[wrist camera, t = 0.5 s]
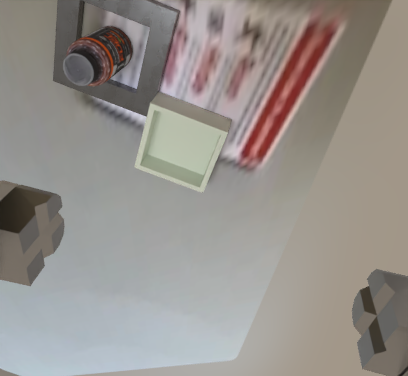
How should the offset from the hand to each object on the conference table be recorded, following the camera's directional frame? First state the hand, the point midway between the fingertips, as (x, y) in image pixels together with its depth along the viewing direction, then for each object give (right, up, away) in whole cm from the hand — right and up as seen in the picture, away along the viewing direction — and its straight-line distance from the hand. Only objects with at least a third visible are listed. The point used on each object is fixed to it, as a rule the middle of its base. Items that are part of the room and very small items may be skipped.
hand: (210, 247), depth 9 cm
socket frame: (-13, +22, +42) cm, 50 cm away
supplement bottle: (-13, +22, +43) cm, 50 cm away
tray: (-3, +10, +49) cm, 50 cm away
